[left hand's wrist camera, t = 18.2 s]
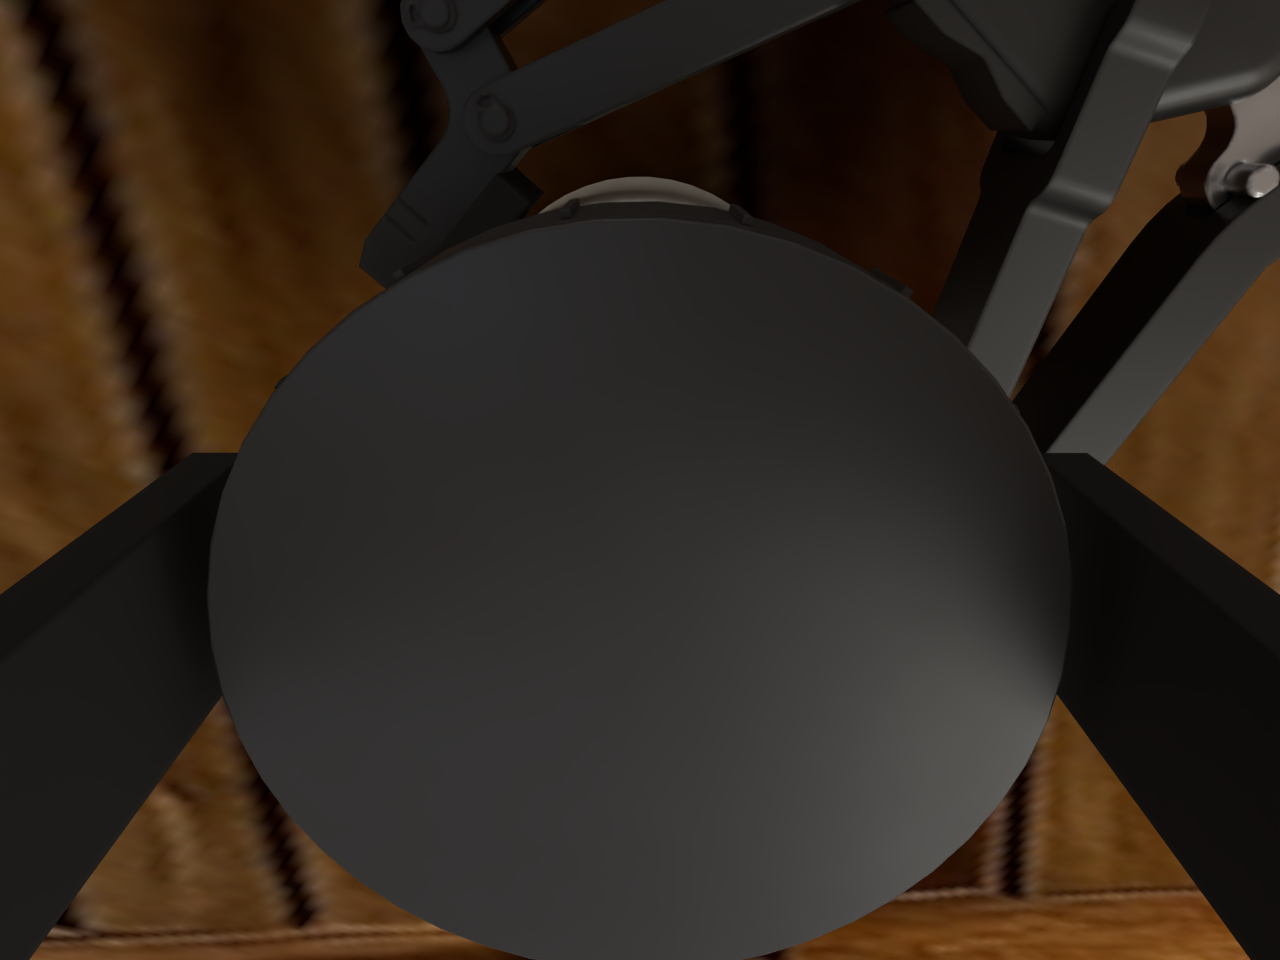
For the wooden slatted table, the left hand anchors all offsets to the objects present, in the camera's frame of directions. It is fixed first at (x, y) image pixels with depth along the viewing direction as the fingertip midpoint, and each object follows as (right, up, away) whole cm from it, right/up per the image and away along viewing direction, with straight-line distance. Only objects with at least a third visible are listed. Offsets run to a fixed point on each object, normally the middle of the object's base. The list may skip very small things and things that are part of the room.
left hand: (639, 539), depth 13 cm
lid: (0, -1, -3) cm, 3 cm away
